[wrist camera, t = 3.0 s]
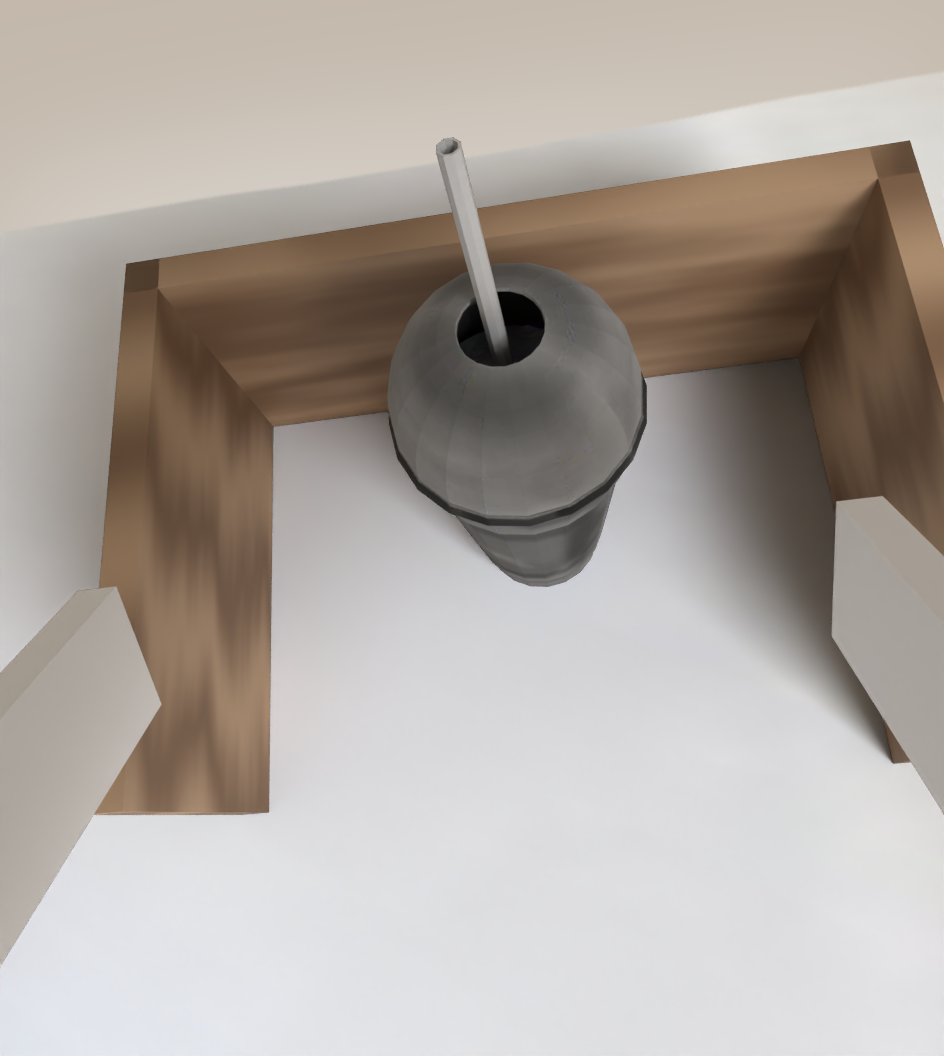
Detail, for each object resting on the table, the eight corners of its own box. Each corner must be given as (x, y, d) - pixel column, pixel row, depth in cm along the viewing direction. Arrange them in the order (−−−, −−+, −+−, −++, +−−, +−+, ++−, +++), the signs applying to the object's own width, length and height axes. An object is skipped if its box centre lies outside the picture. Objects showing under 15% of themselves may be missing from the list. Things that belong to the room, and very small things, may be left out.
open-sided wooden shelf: (928, 760, 29) (1096, 733, 19) (239, 814, 32) (80, 815, 22) (822, 328, 35) (909, 140, 25) (248, 406, 38) (126, 263, 28)
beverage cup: (496, 651, 33) (360, 432, 14) (427, 496, 35) (235, 136, 17) (664, 574, 33) (753, 253, 14) (583, 424, 35) (567, -14, 17)
